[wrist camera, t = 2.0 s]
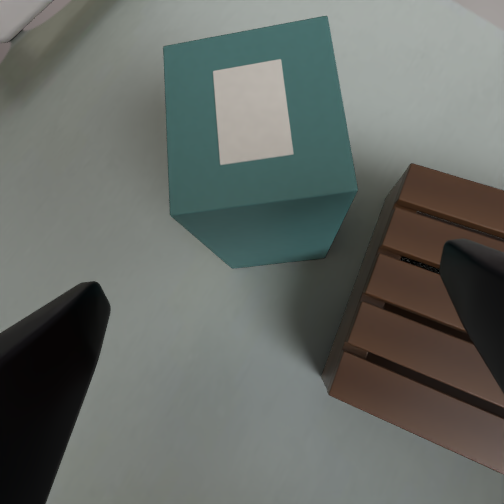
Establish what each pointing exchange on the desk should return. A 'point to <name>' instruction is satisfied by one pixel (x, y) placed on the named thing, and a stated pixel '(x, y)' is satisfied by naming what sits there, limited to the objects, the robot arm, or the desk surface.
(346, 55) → the desk surface
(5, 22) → the white file holder
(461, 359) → the wooden pallet
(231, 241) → the tissue box
